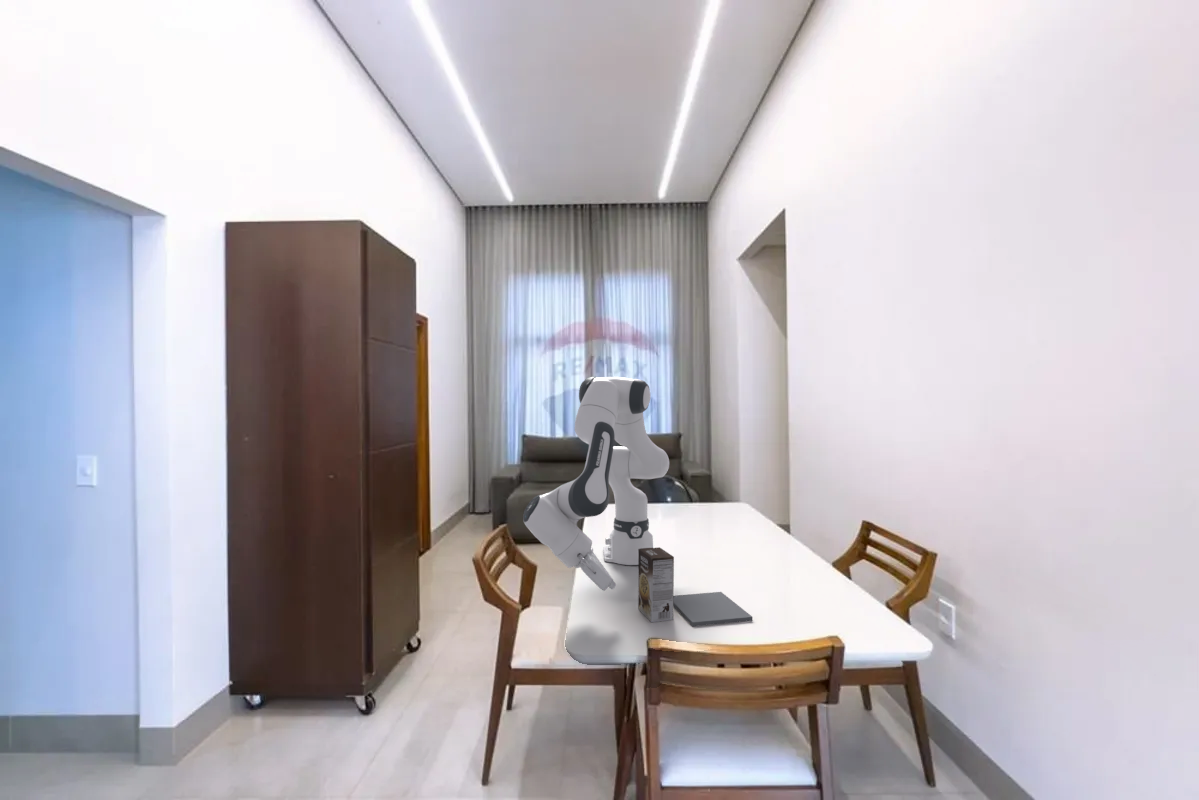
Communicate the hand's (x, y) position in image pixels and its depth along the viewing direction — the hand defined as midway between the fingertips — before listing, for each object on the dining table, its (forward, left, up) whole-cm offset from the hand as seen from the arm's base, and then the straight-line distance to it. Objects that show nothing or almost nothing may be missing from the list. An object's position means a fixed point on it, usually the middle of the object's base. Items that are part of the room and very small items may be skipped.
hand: (613, 585), depth 138 cm
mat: (0, +26, -8) cm, 27 cm away
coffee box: (0, +11, -8) cm, 14 cm away
